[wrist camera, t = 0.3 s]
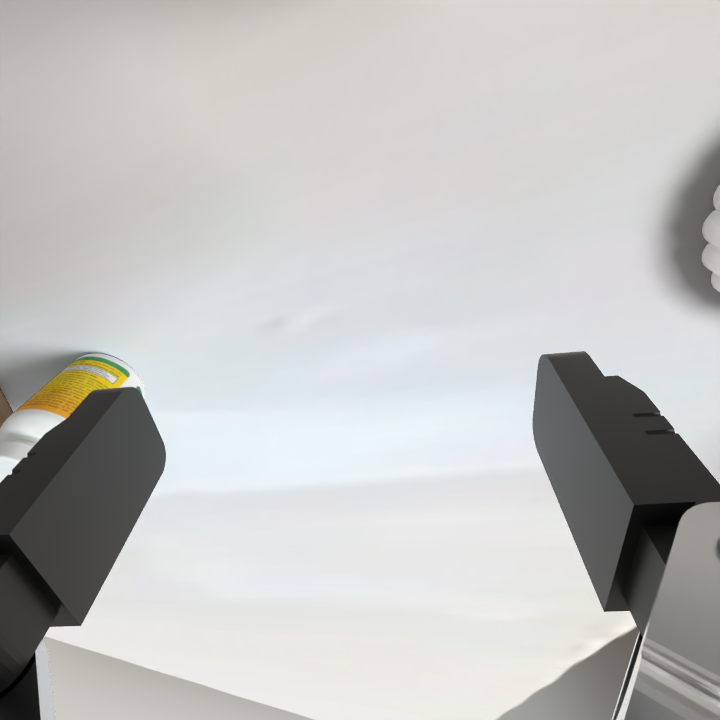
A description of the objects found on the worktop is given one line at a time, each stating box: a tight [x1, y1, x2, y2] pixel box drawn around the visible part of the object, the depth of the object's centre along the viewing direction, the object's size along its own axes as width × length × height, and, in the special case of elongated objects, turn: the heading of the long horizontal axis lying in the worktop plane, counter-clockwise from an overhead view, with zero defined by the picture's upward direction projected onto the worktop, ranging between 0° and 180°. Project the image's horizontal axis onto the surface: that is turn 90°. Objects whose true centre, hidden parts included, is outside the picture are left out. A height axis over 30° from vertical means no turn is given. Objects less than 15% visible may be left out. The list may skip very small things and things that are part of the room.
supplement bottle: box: [0, 353, 145, 483], centre depth 29 cm, size 5×5×10 cm
